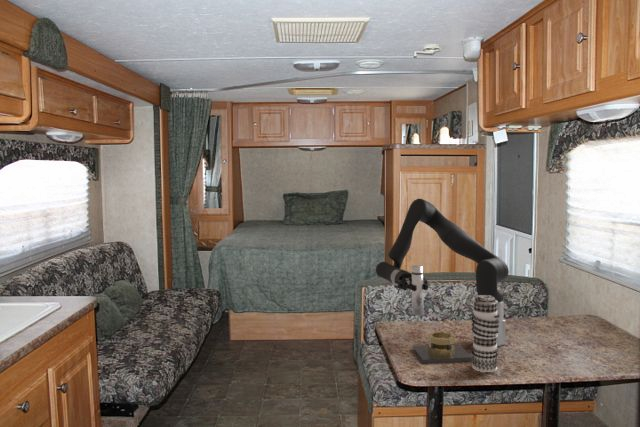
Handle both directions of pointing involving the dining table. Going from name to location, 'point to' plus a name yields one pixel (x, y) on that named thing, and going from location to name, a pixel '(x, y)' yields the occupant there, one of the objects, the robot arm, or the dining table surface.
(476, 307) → the decorative candle
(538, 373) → the dining table surface
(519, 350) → the dining table surface
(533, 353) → the dining table surface
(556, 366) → the dining table surface
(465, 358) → the collar stand
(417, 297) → the metal thermos flask
